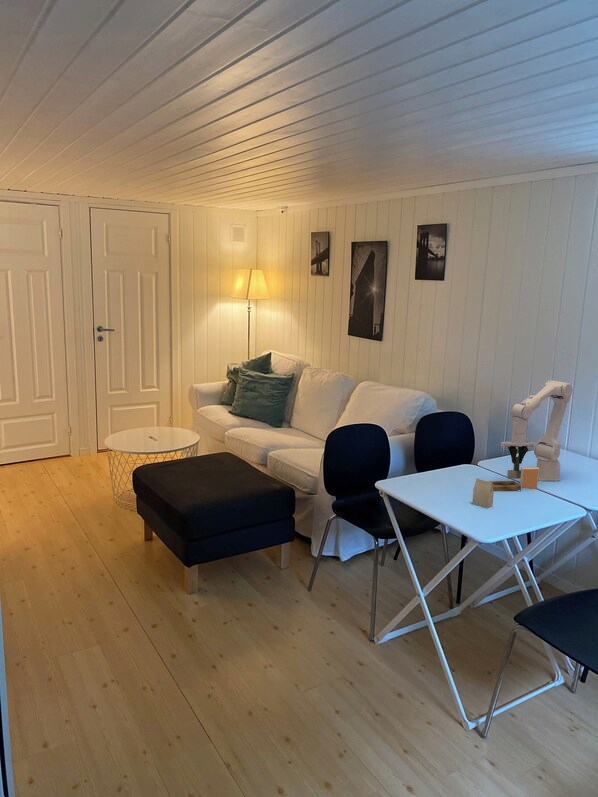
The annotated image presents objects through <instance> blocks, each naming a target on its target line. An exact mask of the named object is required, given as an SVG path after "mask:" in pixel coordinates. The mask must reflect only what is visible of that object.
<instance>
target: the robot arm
mask: <svg viewBox="0 0 598 797" xmlns="http://www.w3.org/2000/svg"><path fill="white" fill-rule="evenodd" d="M543 386H544V387H543V388H541V389H540V391H538V392H537V393H536V394H535V395H533V394H532V395H531V394H530V395H528V397H527V398H526V399H524V400H523V401H522V402H520V403H516V404H514V405H513V406H512V407H511V410H510V415H511V421H512V427H511V428H512V430H511V431H512V432H511V440H509V441H508V440H507V441H500V447H501V448H507V449H508V451H509V454H510V458H511V463H512V464H513V465H514V464H515V463H516V457H520V464H519V465H522V463H523V460H524V457H525V456H526V455H527V452H528V451H529V448H533V453H534V455H535V458H537V460H536V467H537V468H539V475H538V482H539V481H540V482H541V481H543V482H546V481H547V482H548V481H551V482H552V481H553V482H554V481H555V482H556V481H558V482H559V481H561V479H560V475H561V474H560V473H561V462H560V460H559V459H558V458H559V457H560V454H561V447H562V446H561V444H560V443H559V441H558V440H557V438H558V436H559V432H560V429H561V425H562V422H563V419H564V415H565V412H566V410H567V405H568V403H570V400H571V396H572V393H573V386H572V385H571V383H570V382H564V381H558V380H553V379H548V380H547V381H546V382H545V383H544V385H543ZM548 398H550V399H551V400H552V401H553V406H552V409H551V412H550V416H549V419H548V422H547V426H546V430H545V432H544V436H541V438H538V440H537V442H535V441H527V428H528V419H530V418H531V415H532V414H533V412H534V411H535V410H537V409H538V408H539V407H540V406H541V402H543V401H545V400H547V399H548ZM517 455H518V456H517Z"/></svg>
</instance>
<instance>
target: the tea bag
mask: <svg viewBox="0 0 598 797" xmlns="http://www.w3.org/2000/svg"><path fill="white" fill-rule="evenodd" d="M489 481H490V480H485V479H480V478H476V479H475V482H474V486H473V490H472V491H473V492H472V501H471V504H473V505H477V506H478V507H479V506H480V507H482V508H483V507H484V508H486V509H490V508H491V507H493V503H494V493H495V491H494V490H493V483H492V482H489Z"/></svg>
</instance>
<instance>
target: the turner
mask: <svg viewBox="0 0 598 797" xmlns="http://www.w3.org/2000/svg"><path fill="white" fill-rule="evenodd" d="M520 465H521V464H520V457H518V456H516V463H515V464H513V469H507V474H506V479H509V480H510V479H511V480H515V479H517V480H520V478H521V469H520Z"/></svg>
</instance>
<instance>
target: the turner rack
mask: <svg viewBox="0 0 598 797" xmlns="http://www.w3.org/2000/svg"><path fill="white" fill-rule="evenodd" d="M488 481H489V482H492V483H493V490H494V492H521V491H522V489H521V486H520V483H519V484H518V482H516V481H515V480H488ZM518 490H520V491H518Z"/></svg>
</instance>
